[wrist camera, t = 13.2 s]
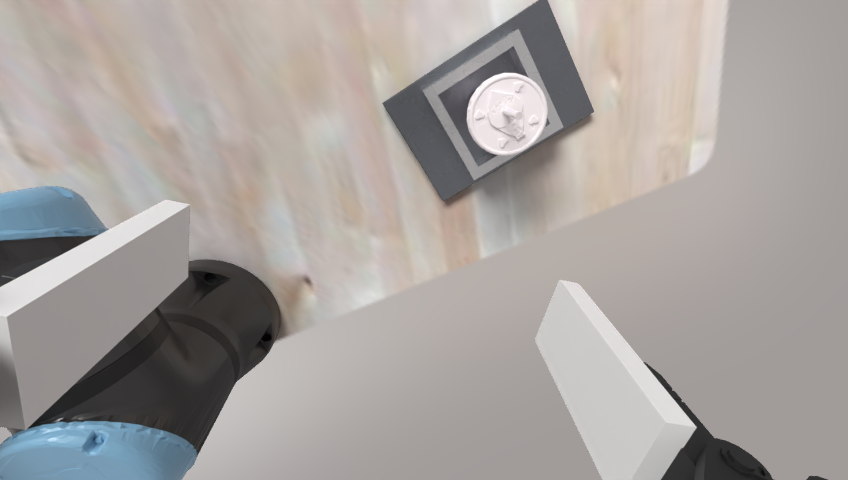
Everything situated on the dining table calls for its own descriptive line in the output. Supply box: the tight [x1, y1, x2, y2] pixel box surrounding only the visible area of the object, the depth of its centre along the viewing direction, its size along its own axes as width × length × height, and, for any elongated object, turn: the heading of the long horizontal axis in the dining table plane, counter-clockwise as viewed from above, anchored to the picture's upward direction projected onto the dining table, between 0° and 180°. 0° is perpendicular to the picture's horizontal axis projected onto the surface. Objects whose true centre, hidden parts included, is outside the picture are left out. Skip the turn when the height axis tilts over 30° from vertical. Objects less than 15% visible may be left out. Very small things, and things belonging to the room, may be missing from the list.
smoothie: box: [467, 73, 548, 156], centre depth 34 cm, size 6×6×14 cm
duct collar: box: [383, 0, 594, 201], centre depth 40 cm, size 18×12×4 cm, turn 121°
